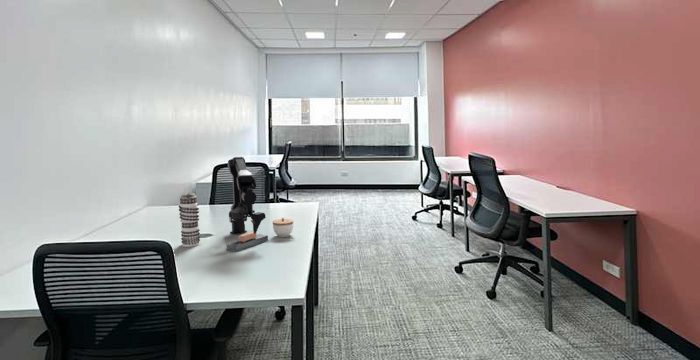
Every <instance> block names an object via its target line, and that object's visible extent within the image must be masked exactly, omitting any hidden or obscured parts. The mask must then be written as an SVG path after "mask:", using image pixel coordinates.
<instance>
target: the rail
mask: <svg viewBox="0 0 700 360" xmlns="http://www.w3.org/2000/svg"><path fill="white" fill-rule="evenodd" d="M256 235H257V237H256V238H254V239H250V240H247V241H246V242H241V241H239V240H236V241H233V242H231V243H227V244H226V245H225V246H226V250H227V251H231V252H239V251H242V250H246V249H248V248H251V247H253V246H256V245H258V244H261V243H264V242H267V241H269V235H267V234H262V233H256Z"/></svg>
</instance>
